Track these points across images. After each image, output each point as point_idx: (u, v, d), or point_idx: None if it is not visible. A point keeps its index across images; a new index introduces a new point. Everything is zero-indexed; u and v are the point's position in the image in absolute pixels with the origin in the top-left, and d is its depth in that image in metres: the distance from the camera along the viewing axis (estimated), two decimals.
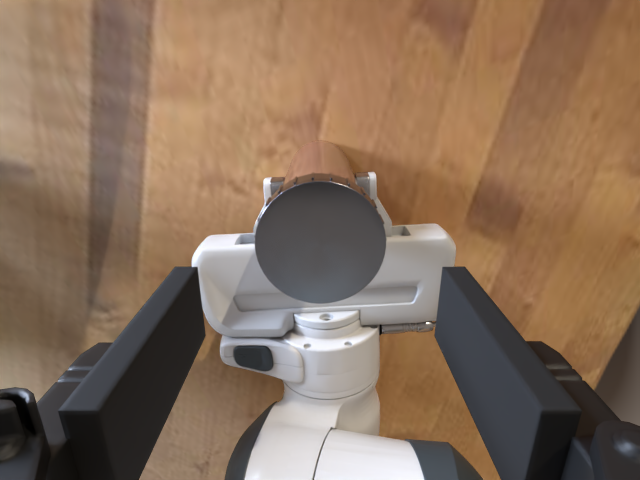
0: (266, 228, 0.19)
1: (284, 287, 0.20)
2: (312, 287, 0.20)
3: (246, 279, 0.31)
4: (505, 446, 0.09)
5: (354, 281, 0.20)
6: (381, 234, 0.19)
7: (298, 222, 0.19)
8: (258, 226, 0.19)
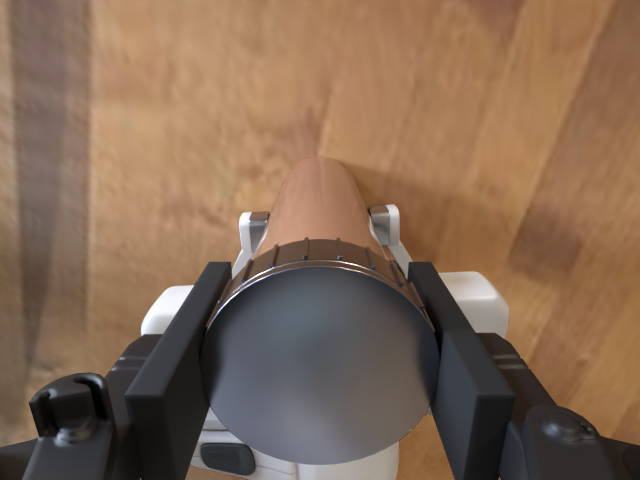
0: (219, 347, 0.10)
1: (256, 440, 0.11)
2: (305, 441, 0.11)
3: None
4: (452, 432, 0.09)
5: (380, 431, 0.11)
6: (432, 357, 0.10)
7: (278, 337, 0.10)
8: (204, 344, 0.10)
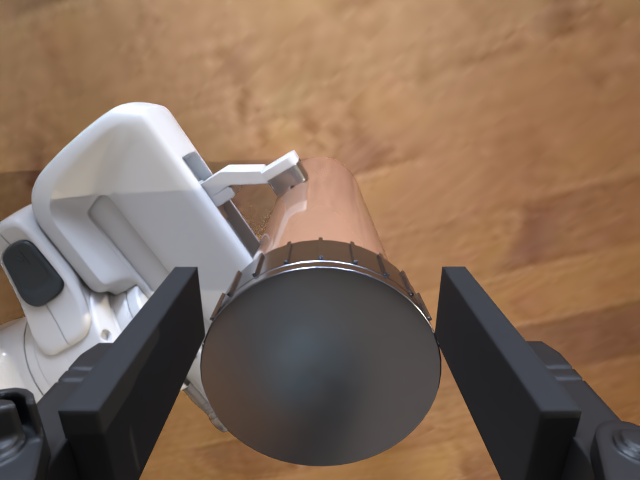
0: (227, 406, 0.11)
1: (323, 458, 0.11)
2: (361, 434, 0.11)
3: (142, 201, 0.20)
4: (504, 447, 0.09)
5: (415, 387, 0.11)
6: (396, 298, 0.10)
7: (260, 369, 0.10)
8: (215, 411, 0.11)
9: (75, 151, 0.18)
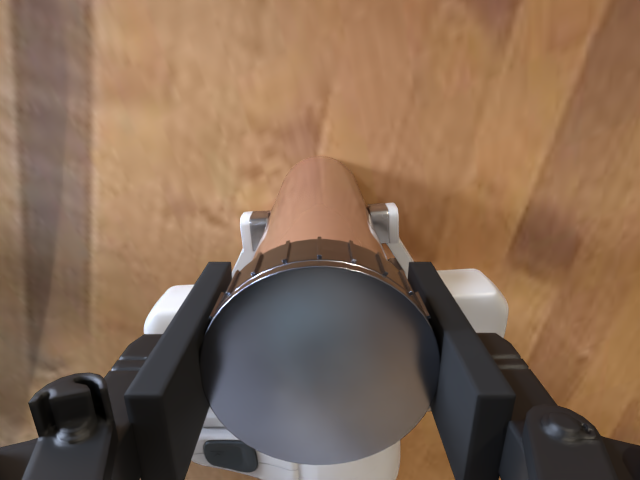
0: (310, 453, 0.11)
1: (414, 413, 0.11)
2: (405, 372, 0.10)
3: None
4: (452, 432, 0.09)
5: (379, 305, 0.10)
6: (268, 284, 0.10)
7: (285, 414, 0.11)
8: (309, 463, 0.11)
9: None
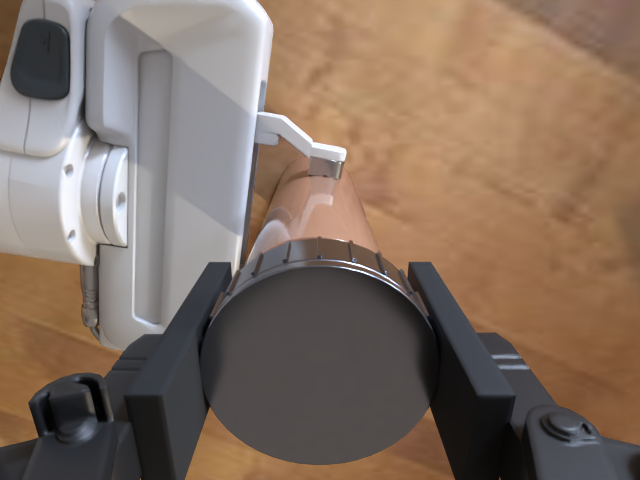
0: (309, 453, 0.11)
1: (414, 412, 0.11)
2: (405, 372, 0.10)
3: (199, 86, 0.19)
4: (452, 432, 0.09)
5: (379, 305, 0.10)
6: (268, 283, 0.10)
7: (285, 414, 0.11)
8: (309, 463, 0.12)
9: None
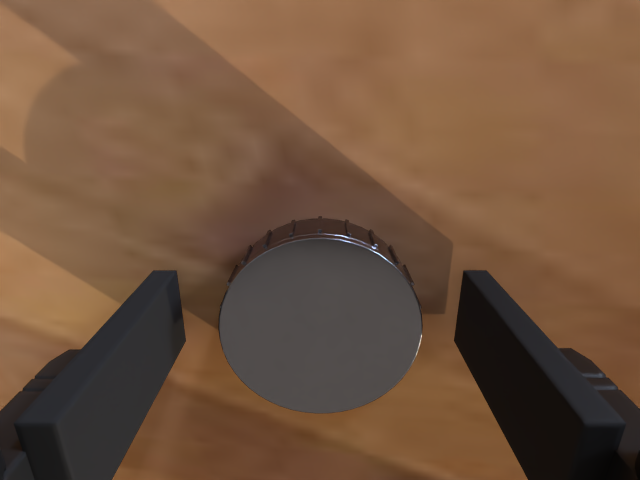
0: (312, 402, 0.13)
1: (400, 366, 0.13)
2: (393, 330, 0.12)
3: None
4: (539, 458, 0.09)
5: (370, 272, 0.12)
6: (277, 253, 0.11)
7: (291, 367, 0.13)
8: (311, 411, 0.13)
9: None
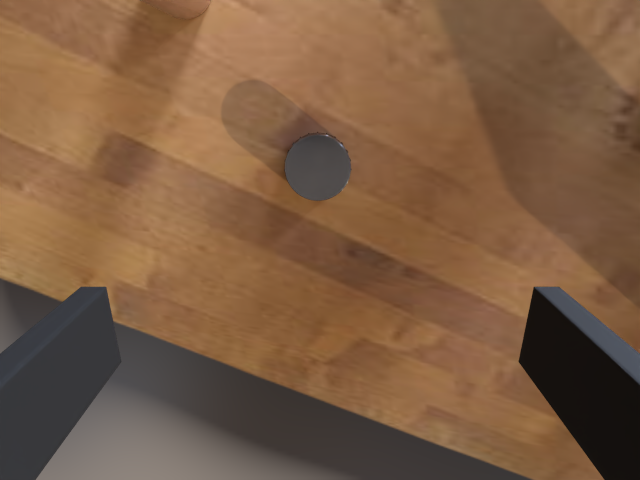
0: (315, 196, 0.39)
1: (344, 181, 0.39)
2: (341, 167, 0.38)
3: None
4: None
5: (333, 146, 0.37)
6: (304, 139, 0.37)
7: (308, 181, 0.39)
8: (314, 199, 0.39)
9: None
